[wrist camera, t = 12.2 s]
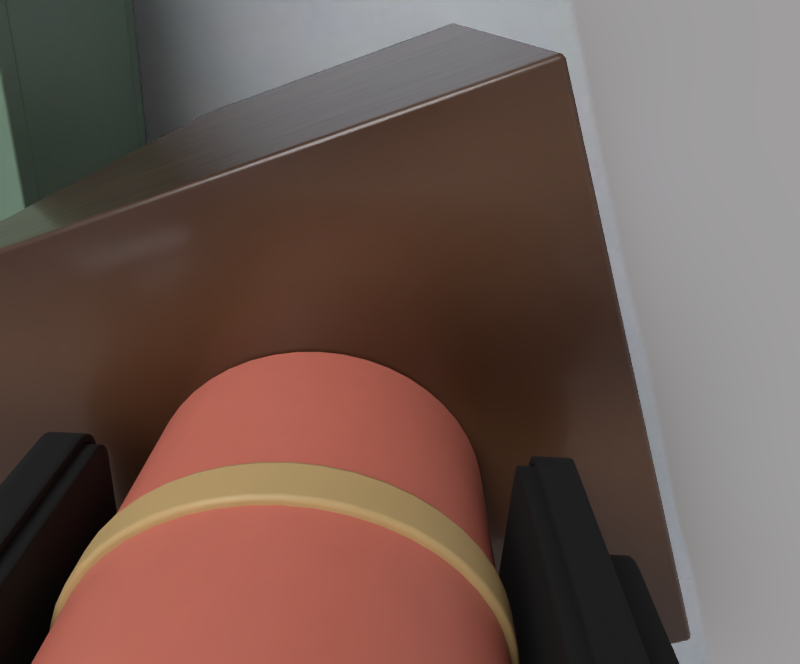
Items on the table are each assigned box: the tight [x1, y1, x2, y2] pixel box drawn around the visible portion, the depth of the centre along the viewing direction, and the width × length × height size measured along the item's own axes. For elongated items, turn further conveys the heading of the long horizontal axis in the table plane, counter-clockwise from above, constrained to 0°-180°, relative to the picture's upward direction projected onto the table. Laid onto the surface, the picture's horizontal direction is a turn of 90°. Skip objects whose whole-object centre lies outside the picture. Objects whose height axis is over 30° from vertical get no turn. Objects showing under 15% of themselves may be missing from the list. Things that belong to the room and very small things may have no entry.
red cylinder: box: [31, 352, 520, 664], centre depth 8 cm, size 5×5×6 cm
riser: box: [0, 24, 690, 644], centre depth 19 cm, size 10×10×19 cm
